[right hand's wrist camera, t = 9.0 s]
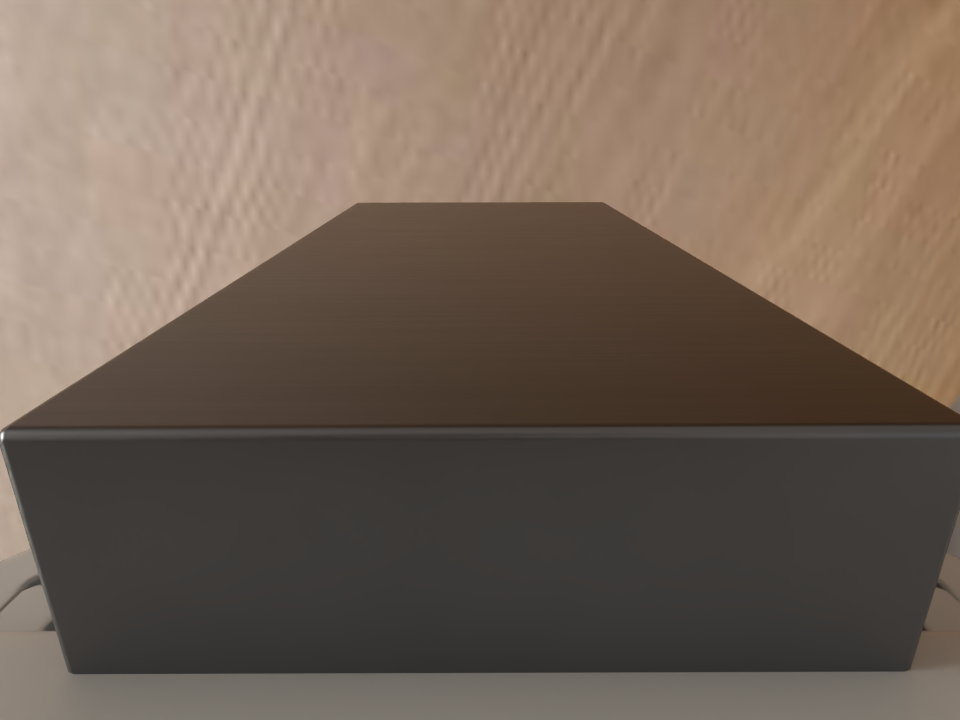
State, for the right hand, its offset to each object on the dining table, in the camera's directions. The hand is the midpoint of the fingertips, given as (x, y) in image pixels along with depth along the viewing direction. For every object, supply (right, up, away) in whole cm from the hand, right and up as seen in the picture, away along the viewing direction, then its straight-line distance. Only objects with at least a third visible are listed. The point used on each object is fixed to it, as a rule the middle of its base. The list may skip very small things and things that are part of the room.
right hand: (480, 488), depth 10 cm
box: (0, -6, +10) cm, 12 cm away
